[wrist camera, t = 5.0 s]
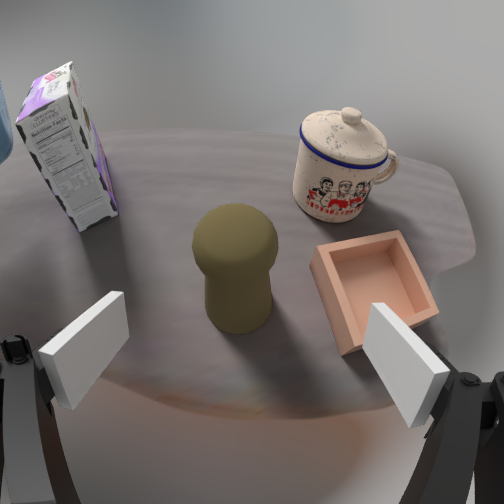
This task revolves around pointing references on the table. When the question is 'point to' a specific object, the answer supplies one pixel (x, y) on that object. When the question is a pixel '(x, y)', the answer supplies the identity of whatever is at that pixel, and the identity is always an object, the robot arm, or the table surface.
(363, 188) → the teacup with lid
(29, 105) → the candy box
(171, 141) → the table surface
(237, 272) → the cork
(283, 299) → the table surface
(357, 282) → the tray
